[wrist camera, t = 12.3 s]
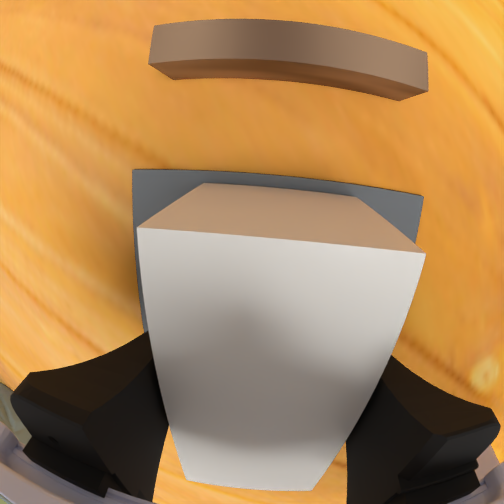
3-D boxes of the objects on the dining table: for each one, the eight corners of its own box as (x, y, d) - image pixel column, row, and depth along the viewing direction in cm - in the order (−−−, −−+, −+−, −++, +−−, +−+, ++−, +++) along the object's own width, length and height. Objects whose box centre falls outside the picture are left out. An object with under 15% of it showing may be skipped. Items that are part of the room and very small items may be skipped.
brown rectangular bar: (399, 68, 9) (427, 52, 6) (399, 101, 9) (428, 91, 7) (177, 47, 9) (154, 25, 7) (173, 79, 10) (148, 63, 7)
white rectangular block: (356, 196, 10) (426, 253, 5) (306, 405, 15) (311, 490, 9) (203, 182, 10) (136, 227, 5) (207, 396, 15) (186, 479, 10)
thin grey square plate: (421, 195, 10) (423, 196, 10) (358, 403, 14) (358, 405, 14) (134, 169, 11) (132, 169, 11) (155, 385, 15) (154, 387, 15)
